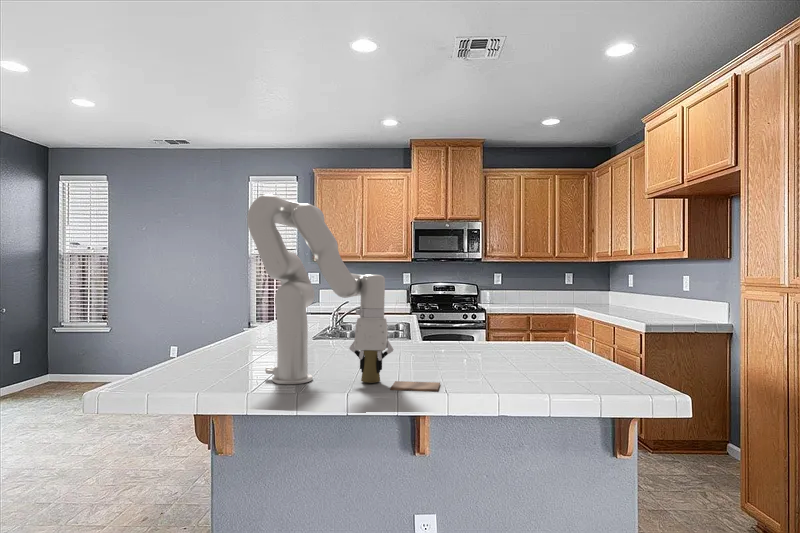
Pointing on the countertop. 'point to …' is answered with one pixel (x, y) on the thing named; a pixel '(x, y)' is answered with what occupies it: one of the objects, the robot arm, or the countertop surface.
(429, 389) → the walnut board
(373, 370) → the cork
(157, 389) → the countertop surface
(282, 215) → the robot arm
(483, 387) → the countertop surface
